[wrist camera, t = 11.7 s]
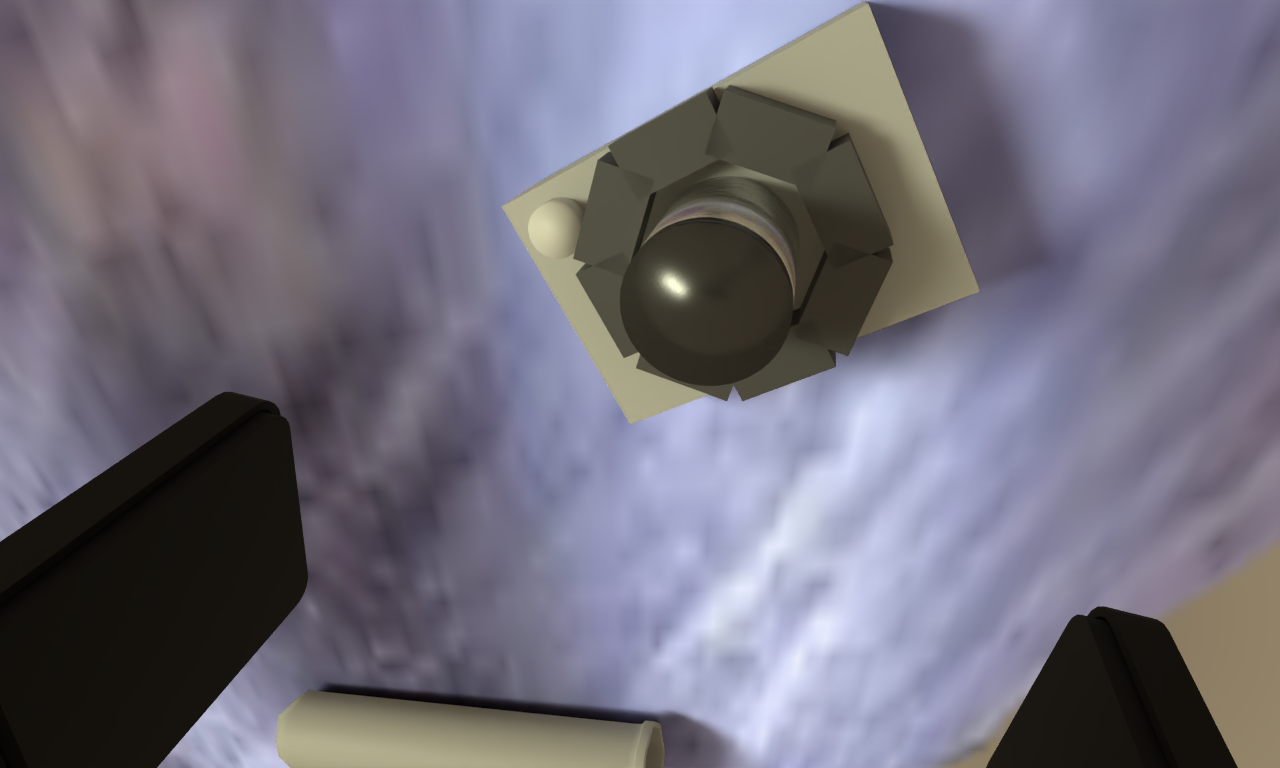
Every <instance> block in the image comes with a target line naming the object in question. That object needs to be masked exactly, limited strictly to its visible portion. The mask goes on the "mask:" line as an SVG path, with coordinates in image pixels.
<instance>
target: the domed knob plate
mask: <svg viewBox="0 0 1280 768" xmlns="http://www.w3.org/2000/svg"><path fill="white" fill-rule="evenodd" d="M721 176H736V177H743V178H747V179H751V180H753V181H756V182H758V183H761V184H762V185H764V186H766V187H767V188H769V189H770V190H772V191H773V192H774V193H775V194H777V195H778V196H779V197H780V198H781V199H782V200H783V202H784V203H785V204H786V206H787V207H788V208H789V210H790V212H791V214H792V215H793V217H794V220H795V223H796V225H797V229H798V234H799V243H800V245H799V259H798V268H797V277H796V286H795V296H794V305H793V314H792V321H791V326H790V330H789V332H788V335H787V338H786V340H785V342H784V344H783V346H782V348H781V349H780V351H779V352H778V353H777V355H776V356H775V357H774V358H773V359H772V360H771V362H770V363H769V364H767V365H766V366H765V367H764V368H763V369H761V370H760V371H758V372H757V373H755V374H754V375H752V376H750V377H748V378H746V379H744V380H741V381H738V382H735V383H732V384H726V385H720V386H699V385H694V384H688V383H685V382H682V381H678V380H676V379H674V378H671V377H669V376H667V375H665V374H664V373H662V372H660V371H659V370H657V369H656V368H654V367H653V366H652V365H650V364H649V363H648V362H647V361H646V360H645V359H644V358H643V357H642V356H641V355H640V353H639V352H638V351H637V350H636V348H635V347H634V345H633V344H632V342H631V341H630V339H629V337H628V335H627V333H626V331H625V328H624V325H623V322H622V317H621V312H620V289H621V285H622V280H623V277H624V274H625V272H626V269H627V267H628V266H629V264H630V262H631V260H632V259H633V257H634V256H635V255H636V253H637V252H638V250H639V249H640V248H641V246H642V245H643V243H644V242H645V241H646V239H647V238H648V237H649V235H650V234H651V232H652V231H653V230H654V228H655V227H656V225H657V224H658V223H659V221H660V220H661V219H662V217H663V216H664V214H665V213H666V212H667V210H668V209H669V208H670V206H671V205H672V203H673V202H674V201H675V200H676V199H677V198H678V197H679V195H680V194H682V193H683V192H684V191H685V190H687V189H688V188H690V187H691V186H693V185H695V184H696V183H699V182H701V181H703V180H706V179H710V178H714V177H721ZM502 208H503V210H504V211H505V213H506V215H507V216H508V218H509V220H510V221H511V223H512V225H513V226H514V228H515V230H516V232H517V233H518V235H519V237H520V238H521V240H522V242H523V243H524V245H525V247H526V248H527V250H528V252H529V253H530V255H531V257H532V259H533V260H534V262H535V264H536V265H537V267H538V269H539V270H540V272H541V274H542V275H543V277H544V279H545V281H546V282H547V284H548V286H549V287H550V289H551V291H552V292H553V294H554V296H555V297H556V299H557V301H558V303H559V304H560V306H561V308H562V309H563V311H564V313H565V314H566V316H567V318H568V319H569V321H570V323H571V324H572V326H573V328H574V330H575V331H576V333H577V335H578V336H579V338H580V340H581V341H582V343H583V345H584V346H585V348H586V350H587V352H588V353H589V355H590V357H591V358H592V360H593V362H594V363H595V365H596V367H597V368H598V370H599V372H600V374H601V375H602V377H603V379H604V380H605V382H606V384H607V385H608V387H609V389H610V390H611V392H612V394H613V395H614V397H615V399H616V401H617V402H618V404H619V406H620V407H621V409H622V411H623V412H624V414H625V416H626V417H627V419H628V421H629V423H630V424H633V423H635V422H638V421H640V420H643V419H646V418H648V417H651V416H654V415H656V414H659V413H662V412H664V411H667V410H669V409H672V408H675V407H677V406H680V405H683V404H685V403H688V402H690V401H693V400H696V399H698V398H701V397H704V396H706V395H711V396H714V397H717V398H720V399H722V400H725V401H727V400H728V397H729V395H730V392H731V390H732V387H733V385H734V386H735V388H736V390H737V392H738V393H739V395H740V397H741V399H742V401H744V400H747V399H750V398H752V397H755V396H758V395H761V394H763V393H766V392H769V391H771V390H774V389H777V388H780V387H782V386H785V385H788V384H790V383H793V382H796V381H799V380H801V379H804V378H807V377H809V376H812V375H815V374H818V373H820V372H823V371H826V370H828V369H831V368H834V367H836V352H838V353H841V354H844V355H846V356H848V355H849V353H850V351H851V349H852V347H853V345H854V342H855V340H856V338H859V337H862V336H864V335H867V334H869V333H872V332H875V331H877V330H880V329H883V328H885V327H888V326H891V325H893V324H896V323H898V322H901V321H904V320H906V319H909V318H912V317H914V316H917V315H919V314H922V313H925V312H927V311H930V310H933V309H935V308H938V307H941V306H943V305H946V304H948V303H951V302H954V301H956V300H959V299H962V298H964V297H967V296H969V295H972V294H975V293H977V292H980V290H979V287H978V285H977V282H976V279H975V277H974V274H973V272H972V269H971V267H970V264H969V261H968V259H967V256H966V254H965V251H964V248H963V246H962V243H961V241H960V238H959V236H958V233H957V230H956V228H955V225H954V223H953V220H952V218H951V215H950V212H949V210H948V207H947V205H946V202H945V200H944V197H943V194H942V192H941V189H940V187H939V184H938V181H937V179H936V176H935V174H934V171H933V169H932V166H931V163H930V161H929V158H928V156H927V153H926V151H925V148H924V145H923V143H922V140H921V138H920V135H919V132H918V130H917V127H916V125H915V122H914V120H913V117H912V114H911V112H910V109H909V107H908V104H907V102H906V99H905V96H904V94H903V91H902V89H901V86H900V84H899V81H898V78H897V76H896V73H895V71H894V68H893V65H892V63H891V60H890V58H889V55H888V53H887V50H886V47H885V45H884V42H883V40H882V37H881V35H880V32H879V29H878V27H877V24H876V22H875V19H874V16H873V14H872V11H871V9H870V6H869V4H868V3H866V2H864V1H863V2H861V3H859V4H857V5H856V6H854V7H852V8H850V9H848V10H847V11H845V12H843V13H841V14H839V15H838V16H836V17H834V18H832V19H830V20H829V21H827V22H825V23H823V24H822V25H820V26H818V27H816V28H814V29H813V30H811V31H809V32H807V33H805V34H804V35H802V36H800V37H798V38H796V39H795V40H793V41H791V42H789V43H787V44H786V45H784V46H782V47H780V48H778V49H777V50H775V51H773V52H771V53H769V54H768V55H766V56H764V57H762V58H760V59H759V60H757V61H755V62H753V63H751V64H750V65H748V66H746V67H744V68H742V69H741V70H739V71H737V72H735V73H733V74H732V75H730V76H728V77H726V78H725V79H723V80H721V81H719V82H717V83H716V84H714V85H712V86H710V87H708V88H707V89H705V90H703V91H701V92H699V93H698V94H696V95H694V96H692V97H690V98H689V99H687V100H685V101H683V102H681V103H680V104H678V105H676V106H674V107H672V108H671V109H669V110H667V111H665V112H663V113H662V114H660V115H658V116H656V117H654V118H653V119H651V120H649V121H647V122H645V123H644V124H642V125H640V126H638V127H636V128H635V129H633V130H631V131H629V132H627V133H626V134H624V135H622V136H620V137H619V138H617V139H615V140H613V141H611V142H610V143H608V144H606V145H604V146H602V147H601V148H599V149H597V150H595V151H593V152H592V153H590V154H588V155H586V156H584V157H583V158H581V159H579V160H577V161H575V162H574V163H572V164H570V165H568V166H566V167H565V168H563V169H561V170H559V171H557V172H556V173H554V174H552V175H550V176H548V177H547V178H545V179H543V180H541V181H539V182H538V183H536V184H535V185H533V186H532V187H530V188H529V189H527V190H526V191H524V192H523V193H521V194H520V195H518V196H517V197H515V198H514V199H512V200H511V201H509V202H508V203H506V204H505V205H504V206H502Z"/></svg>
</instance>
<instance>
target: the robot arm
mask: <svg viewBox="0 0 1280 768" xmlns="http://www.w3.org/2000/svg"><path fill="white" fill-rule="evenodd" d="M307 581H308V571H307V563H306V555H305V546H304V538H303V530H302V522H301V514H300V505H299V497H298V489H297V481H296V473H295V464H294V456H293V448H292V440H291V432H290V426H289V422H288V421H287V420H286V418H284V417H282V416H281V415H280V411H279V409H278V407H277V406H276V405H275V404H274V403H272V402H270V401H266V400H262V399H258V398H254V397H250V396H246V395H242V394H238V393H234V392H223V393H221V394H219V395H217V396H215V397H214V398H212V399H211V400H209V401H208V402H206V403H205V404H203V405H202V406H200V407H199V408H197V409H196V410H194V411H193V412H191V413H190V414H188V415H187V416H186V417H184V418H183V419H181V420H180V421H178V422H177V423H175V424H174V425H172V426H171V427H169V428H168V429H166V430H165V431H163V432H162V433H160V434H159V435H157V436H156V437H154V438H153V439H152V440H150V441H149V442H147V443H146V444H144V445H143V446H141V447H140V448H138V449H137V450H135V451H134V452H132V453H131V454H129V455H128V456H126V457H125V458H123V459H122V460H120V461H119V462H117V463H116V464H115V465H113V466H112V467H110V468H109V469H107V470H106V471H104V472H103V473H101V474H100V475H98V476H97V477H95V478H94V479H92V480H91V481H89V482H88V483H86V484H85V485H83V486H82V487H81V488H79V489H78V490H76V491H75V492H73V493H72V494H70V495H69V496H67V497H66V498H64V499H63V500H61V501H60V502H58V503H57V504H55V505H54V506H52V507H51V508H49V509H48V510H47V511H45V512H44V513H42V514H41V515H39V516H38V517H36V518H35V519H33V520H32V521H30V522H29V523H27V524H26V525H24V526H23V527H21V528H20V529H18V530H17V531H15V532H14V533H12V534H11V535H10V536H8V537H7V538H5V539H4V540H2V541H1V542H0V768H157V767H158V766H159V765H160V764H161V762H162V761H163V760H164V759H165V758H166V757H167V755H168V754H169V753H170V752H171V751H172V750H173V748H174V747H175V746H176V745H177V744H178V743H179V741H180V740H181V739H182V738H183V737H184V736H185V734H186V733H187V732H188V731H189V730H190V729H191V727H192V726H193V725H194V724H195V723H196V722H197V721H198V719H199V718H200V717H201V716H202V715H203V714H204V712H205V711H206V710H207V709H208V708H209V707H210V705H211V704H212V703H213V702H214V701H215V700H216V698H217V697H218V696H219V695H220V694H221V693H222V691H223V690H224V689H225V688H226V687H227V686H228V684H229V683H230V682H231V681H232V680H233V679H234V677H235V676H236V675H237V674H238V673H239V672H240V670H241V669H242V668H243V667H244V666H245V665H246V664H247V662H248V661H249V660H250V659H251V658H252V657H253V655H254V654H255V653H256V652H257V651H258V650H259V648H260V647H261V646H262V645H263V644H264V643H265V641H266V640H267V639H268V638H269V637H270V636H271V634H272V633H273V632H274V631H275V630H276V629H277V627H278V626H279V625H280V624H281V623H282V622H283V620H284V619H285V618H286V617H287V616H288V615H289V614H290V612H291V611H292V610H293V609H294V608H295V607H296V605H297V604H298V603H299V601H300V600H301V598H302V596H303V594H304V592H305V589H306V586H307ZM986 768H1238V767H1237V765H1236V763H1235V761H1234V759H1233V757H1232V755H1231V753H1230V752H1229V749H1228V748H1227V745H1226V743H1225V742H1224V739H1223V738H1222V735H1221V733H1220V732H1219V730H1218V728H1217V726H1216V724H1215V722H1214V720H1213V718H1212V716H1211V714H1210V712H1209V710H1208V708H1207V706H1206V704H1205V702H1204V700H1203V698H1202V696H1201V694H1200V692H1199V690H1198V688H1197V686H1196V684H1195V682H1194V680H1193V678H1192V676H1191V674H1190V672H1189V670H1188V668H1187V666H1186V664H1185V662H1184V660H1183V658H1182V656H1181V654H1180V652H1179V650H1178V648H1177V646H1176V644H1175V642H1174V640H1173V638H1172V636H1171V634H1170V632H1169V631H1168V629H1167V628H1166V626H1165V625H1164V624H1163V623H1162V622H1160V621H1159V620H1157V619H1153V618H1149V617H1145V616H1141V615H1137V614H1133V613H1128V612H1124V611H1120V610H1116V609H1112V608H1108V607H1096V608H1095V609H1093V610H1092V611H1091V612H1090V613H1089V614H1088V616H1084V615H1076V616H1074V617H1072V619H1071V620H1070V621H1069V623H1068V624H1067V626H1066V628H1065V630H1064V631H1063V633H1062V635H1061V637H1060V638H1059V640H1058V642H1057V644H1056V645H1055V647H1054V649H1053V651H1052V652H1051V654H1050V656H1049V658H1048V659H1047V661H1046V663H1045V665H1044V666H1043V668H1042V670H1041V672H1040V673H1039V675H1038V677H1037V678H1036V680H1035V682H1034V684H1033V685H1032V687H1031V689H1030V691H1029V692H1028V694H1027V696H1026V698H1025V699H1024V701H1023V703H1022V705H1021V706H1020V708H1019V710H1018V712H1017V713H1016V715H1015V717H1014V719H1013V720H1012V722H1011V724H1010V726H1009V727H1008V729H1007V731H1006V733H1005V734H1004V736H1003V738H1002V740H1001V741H1000V743H999V745H998V747H997V748H996V750H995V752H994V754H993V755H992V757H991V759H990V761H989V762H988V765H987V767H986Z"/></svg>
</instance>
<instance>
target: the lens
mask: <svg viewBox="0 0 1280 768" xmlns="http://www.w3.org/2000/svg"><path fill="white" fill-rule="evenodd" d="M799 245H800V243H799V234H798V229H797V225H796V223H795V220H794V217H793V215H792V214H791V212H790V210H789V208H788V207H787V206H786V204H785V203H784V202H783V200H782V199H781V198H780V197H779V196H778V195H777V194H775V193H774V192H773V191H772V190H770V189H769V188H767V187H766V186H764V185H762V184H761V183H758V182H756V181H753V180H751V179H747V178H743V177H736V176H721V177H714V178H710V179H706V180H703V181H701V182H699V183H696V184H695V185H693V186H691V187H690V188H688V189H687V190H685V191H684V192H683V193H682V194H680V195H679V197H678V198H677V199H676V200H675V201H674V202H673V203H672V205H671V206H670V208H669V209H668V210H667V212H666V213H665V214H664V216H663V217H662V219H661V220H660V221H659V223H658V224H657V225H656V227H655V228H654V230H653V231H652V232H651V234H650V235H649V237H648V238H647V239H646V241H645V242H644V243H643V245H642V246H641V248H640V249H639V250H638V252H637V253H636V255H635V256H634V257H633V259H632V260H631V262H630V264H629V266H628V267H627V269H626V272H625V274H624V277H623V280H622V285H621V289H620V312H621V317H622V322H623V325H624V328H625V331H626V333H627V335H628V337H629V339H630V341H631V342H632V344H633V345H634V347H635V348H636V350H637V351H638V352H639V353H640V355H641V356H642V357H643V358H644V359H645V360H646V361H647V362H648V363H649V364H650V365H652V366H653V367H654V368H656V369H657V370H659V371H660V372H662V373H664V374H665V375H667V376H669V377H671V378H674V379H676V380H678V381H682V382H685V383H688V384H694V385H699V386H720V385H726V384H732V383H735V382H738V381H741V380H744V379H746V378H748V377H750V376H752V375H754V374H755V373H757V372H758V371H760V370H761V369H763V368H764V367H765V366H766V365H767V364H769V363H770V362H771V360H772V359H773V358H774V357H775V356H776V355H777V353H778V352H779V351H780V349H781V348H782V346H783V344H784V342H785V340H786V338H787V335H788V332H789V330H790V326H791V321H792V314H793V305H794V296H795V286H796V277H797V268H798V259H799Z"/></svg>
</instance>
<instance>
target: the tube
mask: <svg viewBox="0 0 1280 768" xmlns="http://www.w3.org/2000/svg"><path fill="white" fill-rule="evenodd" d="M276 744H277V749H278V754H279V757H280V758H281V759H282V760H283V761H284V762H285V763H286V764H287V765H288V766H289V767H290V768H664V760H665V748H664V742H663V736H662V730H661V724H660V723H658V722H654V721H644V722H643V723H642V724H632V723H623V722H613V721H603V720H594V719H584V718H574V717H564V716H555V715H545V714H535V713H526V712H516V711H506V710H496V709H487V708H477V707H467V706H458V705H448V704H438V703H428V702H419V701H409V700H399V699H390V698H380V697H370V696H360V695H351V694H341V693H331V692H321V691H312V690H308V691H307V692H306V693H304V694H303V695H301V696H300V697H299V698H297V699H296V700H295V701H294V702H293V703H292V704H291V705H290V706H288V707H287V708H286V709H285V710H284V711H283V712H282V713H281V714H280V715H279V716H278V724H277V736H276Z"/></svg>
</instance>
